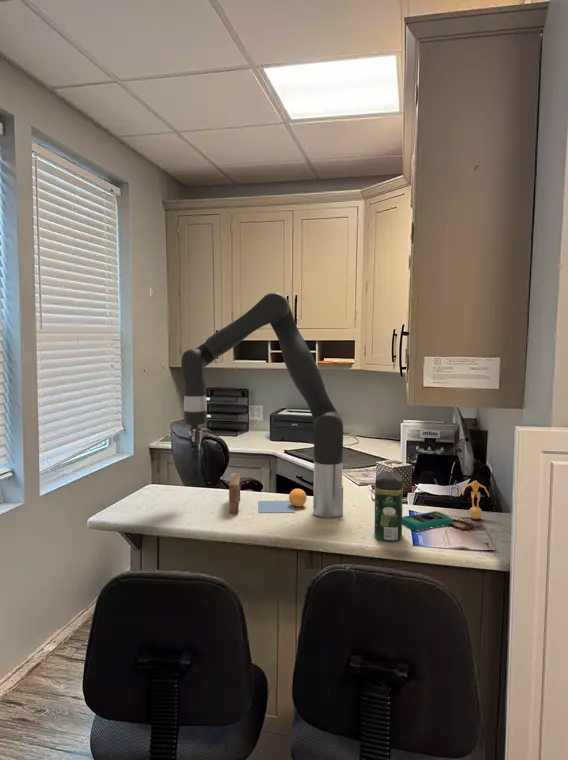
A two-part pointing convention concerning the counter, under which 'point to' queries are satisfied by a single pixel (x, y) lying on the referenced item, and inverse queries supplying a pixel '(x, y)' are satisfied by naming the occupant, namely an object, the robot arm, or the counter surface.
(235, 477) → the bridge
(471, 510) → the figurine
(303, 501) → the ball
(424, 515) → the digital multimeter
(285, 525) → the counter surface
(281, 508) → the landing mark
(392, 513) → the coffee jar
